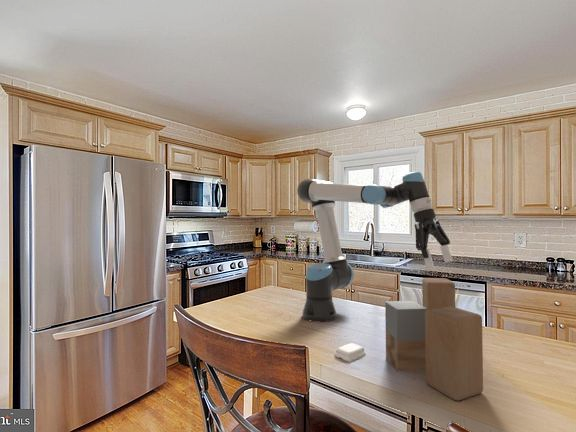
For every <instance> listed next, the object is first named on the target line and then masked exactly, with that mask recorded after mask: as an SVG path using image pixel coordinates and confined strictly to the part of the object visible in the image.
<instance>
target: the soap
mask: <svg viewBox="0 0 576 432" xmlns="http://www.w3.org/2000/svg"><path fill="white" fill-rule="evenodd" d="M366 354H367V353H366V351H365V348H364V347H363V346H361V345H359V344H356V343H353V342H350V343H347V344H344V345H341V346H340V347H337V348H336V350H335V353H334V357H337V358H338V359H342V360H343V361H346V362H353V361H355V360H358V359H359V358H363V357H364V356H366Z"/></svg>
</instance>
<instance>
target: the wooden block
mask: <svg viewBox="0 0 576 432" xmlns="http://www.w3.org/2000/svg"><path fill="white" fill-rule="evenodd" d="M421 283H422V291H421V292H422V306H423V307H425V308H427V310H430V309H436V308H442V307H449V306H452V307H455V308H456V284H455V283H454V281H452V280H450V279H448V278H444V277H443V278H442V277H440V278H439V277H423V278H422V282H421Z"/></svg>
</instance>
